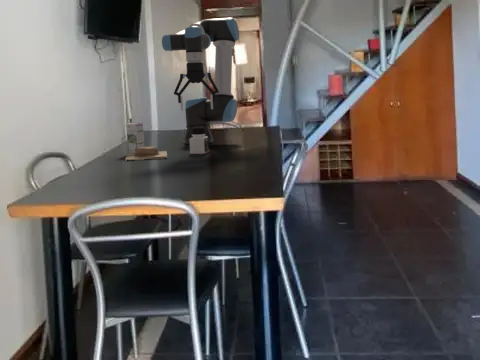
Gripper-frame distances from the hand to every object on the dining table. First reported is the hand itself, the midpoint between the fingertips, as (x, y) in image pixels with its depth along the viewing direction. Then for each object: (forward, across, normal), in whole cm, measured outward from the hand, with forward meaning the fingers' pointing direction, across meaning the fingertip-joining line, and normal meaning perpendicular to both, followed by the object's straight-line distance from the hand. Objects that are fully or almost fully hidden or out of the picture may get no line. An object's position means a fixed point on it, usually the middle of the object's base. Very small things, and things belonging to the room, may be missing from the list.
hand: (197, 109), depth 280 cm
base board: (+20, -24, -4) cm, 31 cm away
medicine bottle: (+20, 0, 0) cm, 20 cm away
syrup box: (+20, -29, +10) cm, 37 cm away
